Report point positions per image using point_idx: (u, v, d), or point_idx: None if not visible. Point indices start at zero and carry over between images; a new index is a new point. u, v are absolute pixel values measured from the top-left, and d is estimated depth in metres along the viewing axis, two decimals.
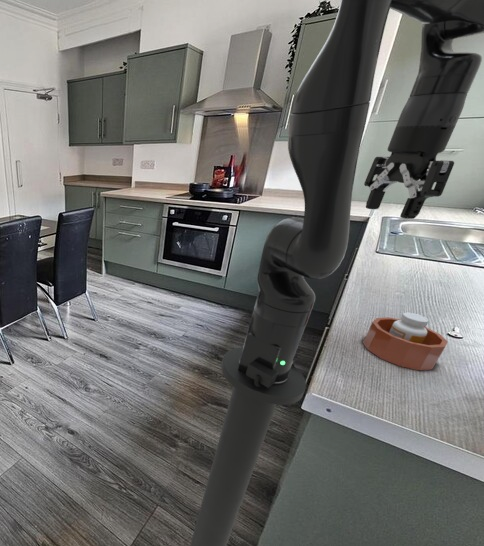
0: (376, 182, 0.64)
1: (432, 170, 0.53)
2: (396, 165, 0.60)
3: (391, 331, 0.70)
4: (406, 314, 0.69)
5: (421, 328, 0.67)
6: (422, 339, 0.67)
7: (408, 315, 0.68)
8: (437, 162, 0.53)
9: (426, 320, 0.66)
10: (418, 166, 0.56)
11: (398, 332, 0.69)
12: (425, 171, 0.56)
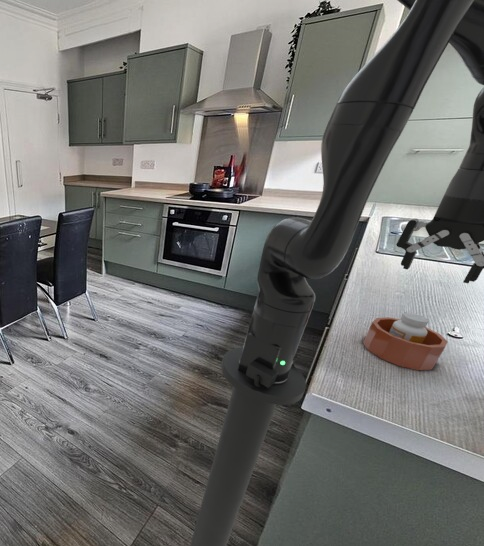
0: (417, 245, 0.64)
1: None
2: (449, 232, 0.60)
3: (391, 331, 0.70)
4: (406, 314, 0.68)
5: (421, 328, 0.67)
6: (422, 339, 0.67)
7: (408, 315, 0.68)
8: None
9: (426, 320, 0.66)
10: (482, 236, 0.57)
11: (398, 332, 0.69)
12: None
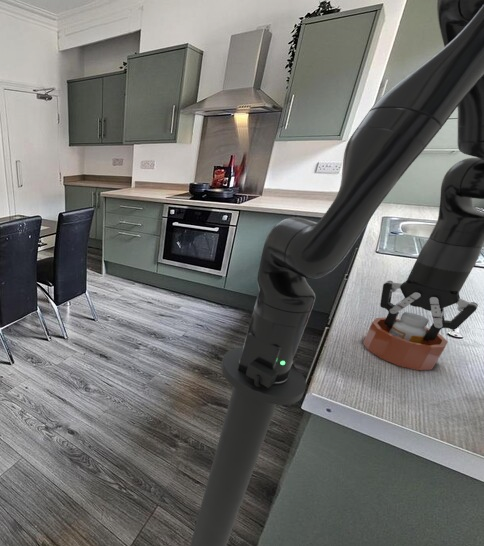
0: (399, 308, 0.69)
1: (467, 312, 0.61)
2: (421, 295, 0.65)
3: (391, 331, 0.70)
4: (406, 314, 0.69)
5: (421, 328, 0.67)
6: (422, 339, 0.67)
7: (408, 315, 0.68)
8: (474, 308, 0.60)
9: (426, 320, 0.66)
10: (449, 301, 0.62)
11: (398, 332, 0.69)
12: None
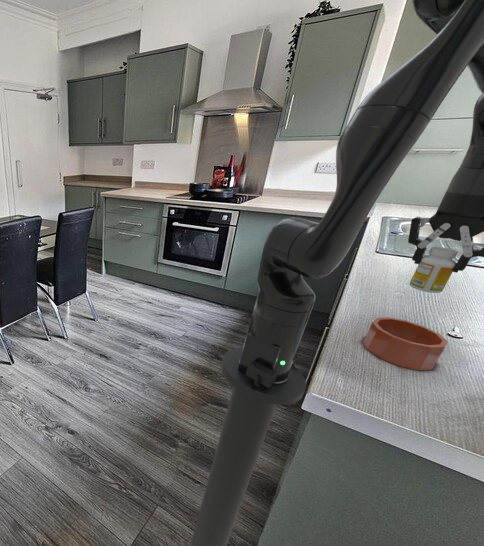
0: (427, 242, 0.70)
1: None
2: (450, 225, 0.66)
3: (419, 266, 0.71)
4: (435, 247, 0.70)
5: (450, 259, 0.68)
6: (451, 270, 0.68)
7: (437, 248, 0.69)
8: None
9: (455, 251, 0.67)
10: (479, 229, 0.63)
11: (427, 265, 0.70)
12: None
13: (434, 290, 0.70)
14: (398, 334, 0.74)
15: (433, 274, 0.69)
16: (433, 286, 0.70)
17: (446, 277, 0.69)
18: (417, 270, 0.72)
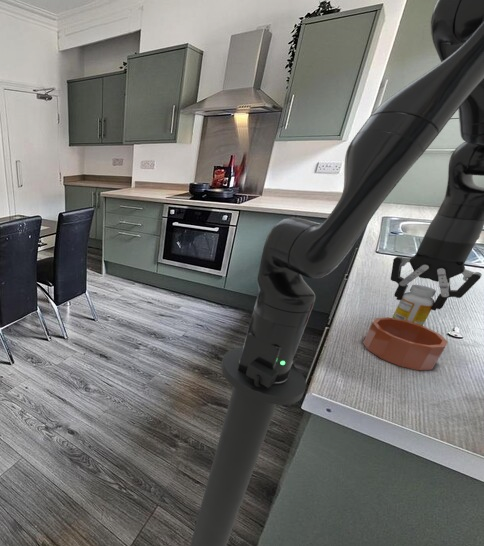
0: (408, 280, 0.74)
1: (471, 281, 0.66)
2: (429, 267, 0.71)
3: (401, 302, 0.76)
4: (415, 286, 0.74)
5: (429, 298, 0.72)
6: (430, 308, 0.72)
7: (417, 287, 0.74)
8: (478, 277, 0.65)
9: (433, 290, 0.72)
10: (455, 272, 0.68)
11: (408, 303, 0.74)
12: None
13: None
14: (398, 334, 0.74)
15: (413, 311, 0.74)
16: (413, 322, 0.74)
17: (425, 314, 0.73)
18: (399, 306, 0.76)
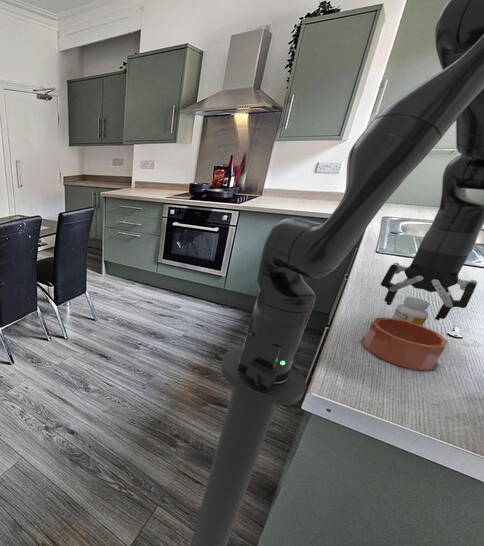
0: (397, 286, 0.76)
1: (469, 289, 0.67)
2: (423, 277, 0.72)
3: (395, 314, 0.77)
4: (409, 298, 0.75)
5: (422, 310, 0.74)
6: (423, 320, 0.74)
7: (411, 299, 0.75)
8: (474, 284, 0.66)
9: (427, 303, 0.73)
10: (450, 283, 0.69)
11: (402, 315, 0.76)
12: None
13: None
14: (398, 334, 0.74)
15: None
16: None
17: None
18: (393, 317, 0.78)
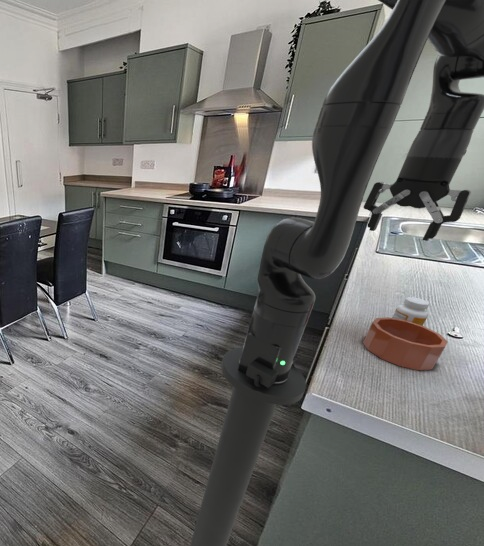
0: (382, 206, 0.67)
1: (461, 199, 0.58)
2: (410, 192, 0.63)
3: (395, 314, 0.77)
4: (409, 298, 0.75)
5: (422, 310, 0.74)
6: (423, 320, 0.74)
7: (411, 299, 0.75)
8: (467, 192, 0.58)
9: (427, 303, 0.73)
10: (440, 194, 0.60)
11: (402, 315, 0.76)
12: None
13: None
14: (398, 334, 0.74)
15: None
16: None
17: None
18: (393, 317, 0.78)
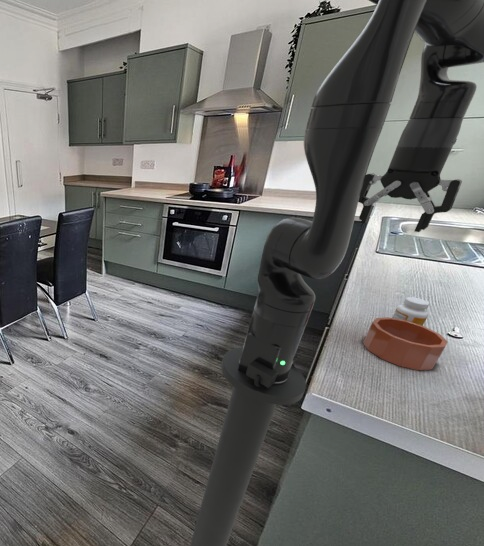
0: (373, 198, 0.67)
1: (452, 188, 0.58)
2: (401, 183, 0.63)
3: (395, 314, 0.77)
4: (409, 298, 0.75)
5: (422, 310, 0.74)
6: (423, 320, 0.74)
7: (411, 299, 0.75)
8: (458, 181, 0.57)
9: (427, 303, 0.73)
10: (431, 184, 0.60)
11: (402, 315, 0.76)
12: None
13: None
14: (398, 334, 0.74)
15: None
16: None
17: None
18: (393, 317, 0.78)
